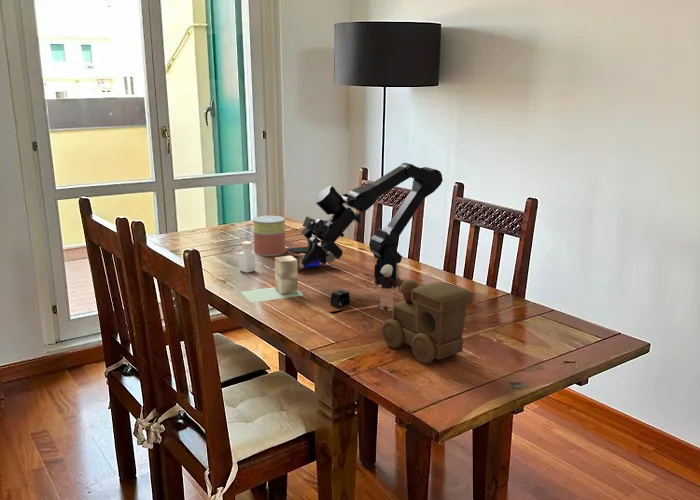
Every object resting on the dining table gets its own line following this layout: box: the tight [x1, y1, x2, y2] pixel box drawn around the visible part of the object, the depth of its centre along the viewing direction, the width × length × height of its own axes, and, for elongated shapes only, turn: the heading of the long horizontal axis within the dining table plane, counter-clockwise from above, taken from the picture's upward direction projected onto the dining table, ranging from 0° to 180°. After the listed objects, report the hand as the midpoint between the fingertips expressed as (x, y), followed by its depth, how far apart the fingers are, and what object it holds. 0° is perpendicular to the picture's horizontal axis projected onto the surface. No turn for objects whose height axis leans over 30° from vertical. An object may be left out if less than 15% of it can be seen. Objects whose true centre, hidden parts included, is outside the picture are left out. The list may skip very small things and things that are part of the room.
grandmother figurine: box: [372, 264, 400, 312], centre depth 179 cm, size 8×4×13 cm, turn 71°
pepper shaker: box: [238, 240, 257, 274], centre depth 210 cm, size 4×4×10 cm
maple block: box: [274, 255, 299, 295], centre depth 190 cm, size 5×5×10 cm
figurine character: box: [286, 246, 336, 271], centre depth 215 cm, size 7×8×15 cm
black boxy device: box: [329, 289, 352, 315], centre depth 181 cm, size 13×8×5 cm, turn 134°
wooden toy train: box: [381, 279, 473, 365], centre depth 152 cm, size 20×11×17 cm, turn 38°
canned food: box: [252, 214, 286, 257], centre depth 232 cm, size 11×11×12 cm
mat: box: [239, 286, 304, 304], centre depth 189 cm, size 16×10×1 cm, turn 116°
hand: (302, 264), depth 191 cm, fingers closed
